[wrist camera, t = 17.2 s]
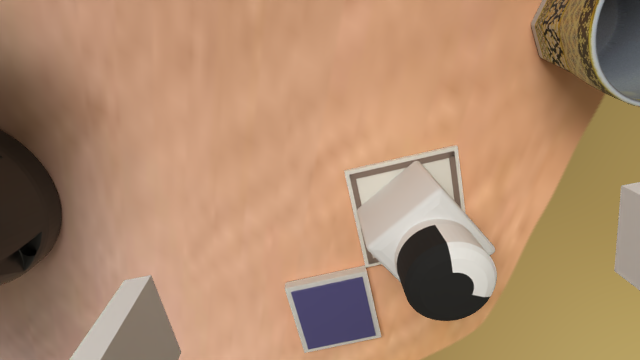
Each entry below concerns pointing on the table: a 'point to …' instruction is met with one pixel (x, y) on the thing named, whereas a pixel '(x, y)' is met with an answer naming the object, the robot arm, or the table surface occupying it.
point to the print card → (378, 175)
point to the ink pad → (333, 309)
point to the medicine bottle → (429, 245)
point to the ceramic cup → (593, 42)
